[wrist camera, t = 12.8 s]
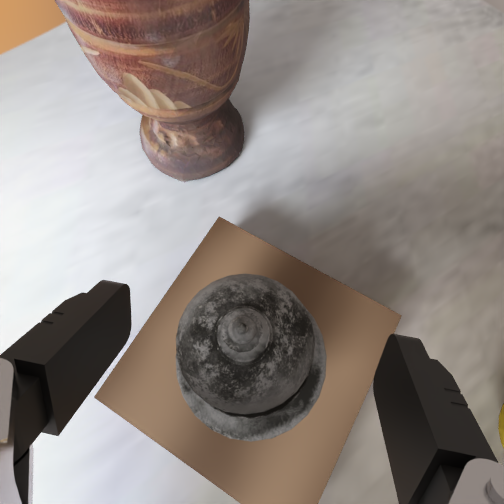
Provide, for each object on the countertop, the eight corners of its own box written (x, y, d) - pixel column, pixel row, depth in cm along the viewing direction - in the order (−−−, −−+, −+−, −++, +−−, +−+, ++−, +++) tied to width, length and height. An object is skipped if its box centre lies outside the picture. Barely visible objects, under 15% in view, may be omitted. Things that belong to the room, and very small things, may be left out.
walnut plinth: (118, 393, 19) (94, 397, 16) (224, 236, 22) (219, 216, 19) (292, 516, 17) (298, 545, 14) (381, 324, 20) (401, 315, 17)
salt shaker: (195, 300, 17) (83, 165, 6) (309, 300, 17) (403, 163, 6) (188, 427, 15) (2, 568, 4) (316, 427, 15) (478, 571, 4)
